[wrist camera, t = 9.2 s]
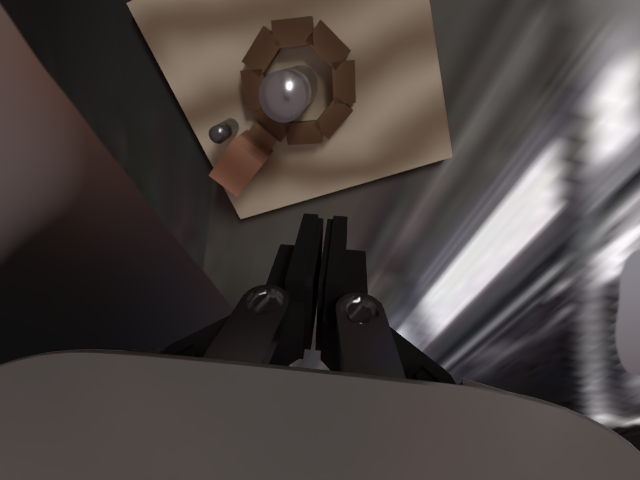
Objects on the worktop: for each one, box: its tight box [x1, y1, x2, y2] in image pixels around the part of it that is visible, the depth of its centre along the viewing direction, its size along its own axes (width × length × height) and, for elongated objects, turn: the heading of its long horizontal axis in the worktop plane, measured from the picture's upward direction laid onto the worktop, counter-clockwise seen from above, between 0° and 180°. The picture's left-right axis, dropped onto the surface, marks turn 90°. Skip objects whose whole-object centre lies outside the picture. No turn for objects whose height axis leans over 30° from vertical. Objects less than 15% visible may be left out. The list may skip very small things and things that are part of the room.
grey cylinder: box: [209, 65, 318, 144], centre depth 24 cm, size 3×10×8 cm, turn 109°
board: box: [126, 0, 453, 219], centre depth 27 cm, size 20×22×1 cm
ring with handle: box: [209, 16, 356, 197], centre depth 26 cm, size 15×9×4 cm, turn 140°
